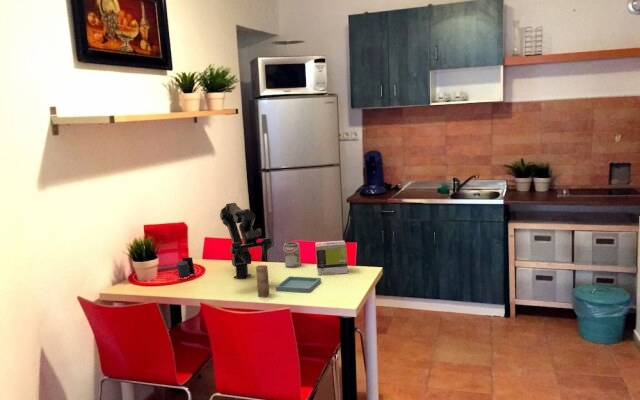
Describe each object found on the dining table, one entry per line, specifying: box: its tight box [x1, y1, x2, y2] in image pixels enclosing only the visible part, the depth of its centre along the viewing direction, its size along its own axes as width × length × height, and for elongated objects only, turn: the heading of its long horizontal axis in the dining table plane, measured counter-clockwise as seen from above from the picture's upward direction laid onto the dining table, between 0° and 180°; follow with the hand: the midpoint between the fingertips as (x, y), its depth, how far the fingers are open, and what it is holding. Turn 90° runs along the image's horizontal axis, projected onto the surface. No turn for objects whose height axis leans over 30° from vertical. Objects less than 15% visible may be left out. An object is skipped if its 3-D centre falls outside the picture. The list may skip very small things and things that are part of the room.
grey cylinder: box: [282, 241, 301, 268], centre depth 286 cm, size 9×8×12 cm
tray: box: [275, 275, 322, 294], centre depth 252 cm, size 16×16×2 cm
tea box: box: [315, 240, 349, 276], centre depth 272 cm, size 15×10×15 cm
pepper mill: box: [255, 264, 270, 298], centre depth 241 cm, size 5×5×13 cm
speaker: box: [176, 256, 196, 278], centre depth 275 cm, size 8×6×10 cm
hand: (256, 261), depth 248 cm, fingers open, 9 cm apart
